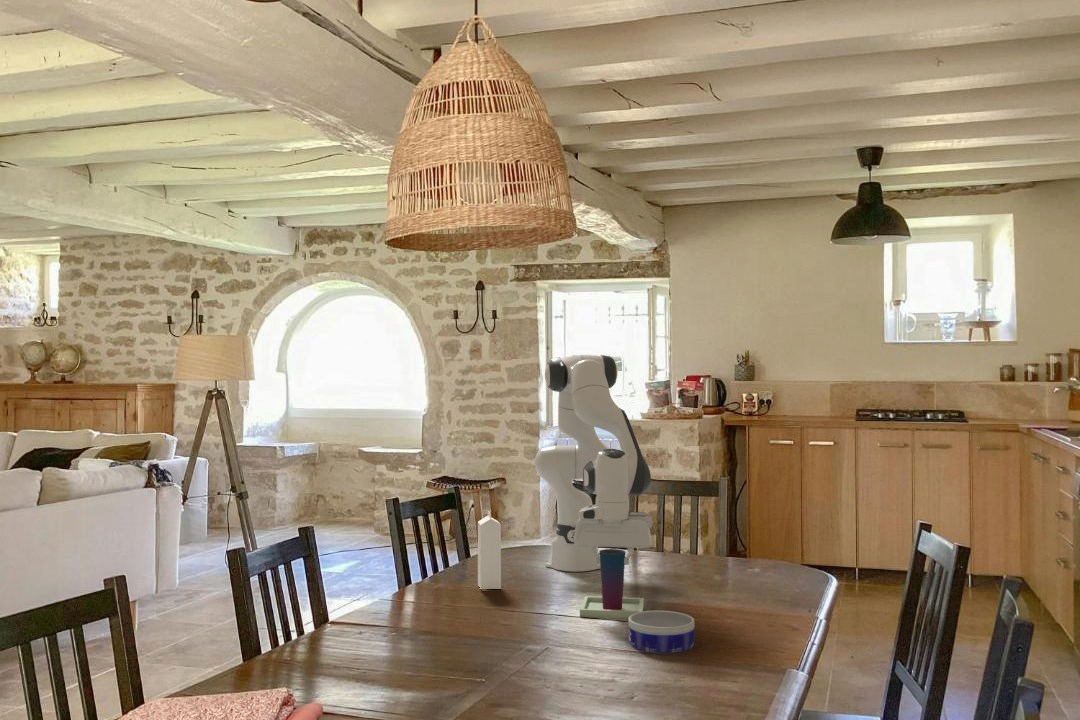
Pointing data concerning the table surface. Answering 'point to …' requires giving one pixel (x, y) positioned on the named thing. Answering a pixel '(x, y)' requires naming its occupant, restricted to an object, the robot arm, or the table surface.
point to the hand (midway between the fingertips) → (612, 563)
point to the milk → (489, 553)
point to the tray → (594, 608)
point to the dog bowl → (661, 631)
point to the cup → (612, 578)
